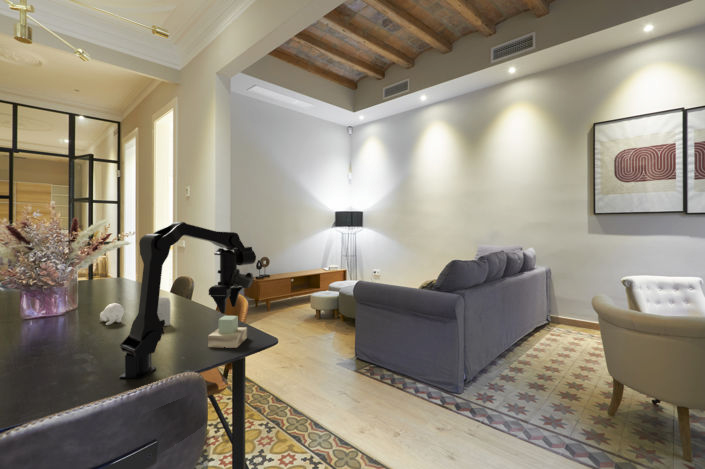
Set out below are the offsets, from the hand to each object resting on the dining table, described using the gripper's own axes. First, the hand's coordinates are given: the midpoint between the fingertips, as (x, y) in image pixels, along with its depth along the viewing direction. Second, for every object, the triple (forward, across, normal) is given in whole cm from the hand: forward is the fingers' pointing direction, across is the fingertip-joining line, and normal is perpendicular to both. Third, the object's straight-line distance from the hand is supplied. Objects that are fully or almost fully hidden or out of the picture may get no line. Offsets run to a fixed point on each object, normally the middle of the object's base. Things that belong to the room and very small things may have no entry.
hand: (228, 310), depth 118 cm
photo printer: (+12, +16, +37) cm, 42 cm away
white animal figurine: (+12, +20, +60) cm, 64 cm away
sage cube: (+8, 0, 0) cm, 8 cm away
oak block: (+12, 0, 0) cm, 12 cm away
